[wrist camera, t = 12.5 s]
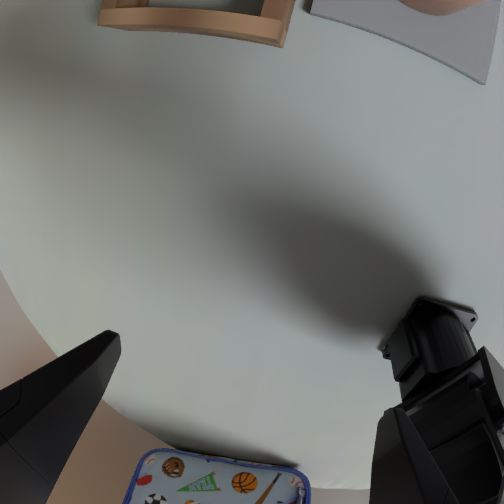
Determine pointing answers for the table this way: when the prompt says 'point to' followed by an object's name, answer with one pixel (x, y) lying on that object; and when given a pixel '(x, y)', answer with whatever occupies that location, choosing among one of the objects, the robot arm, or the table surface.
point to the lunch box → (213, 481)
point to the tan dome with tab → (439, 6)
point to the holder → (201, 20)
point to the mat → (425, 30)
